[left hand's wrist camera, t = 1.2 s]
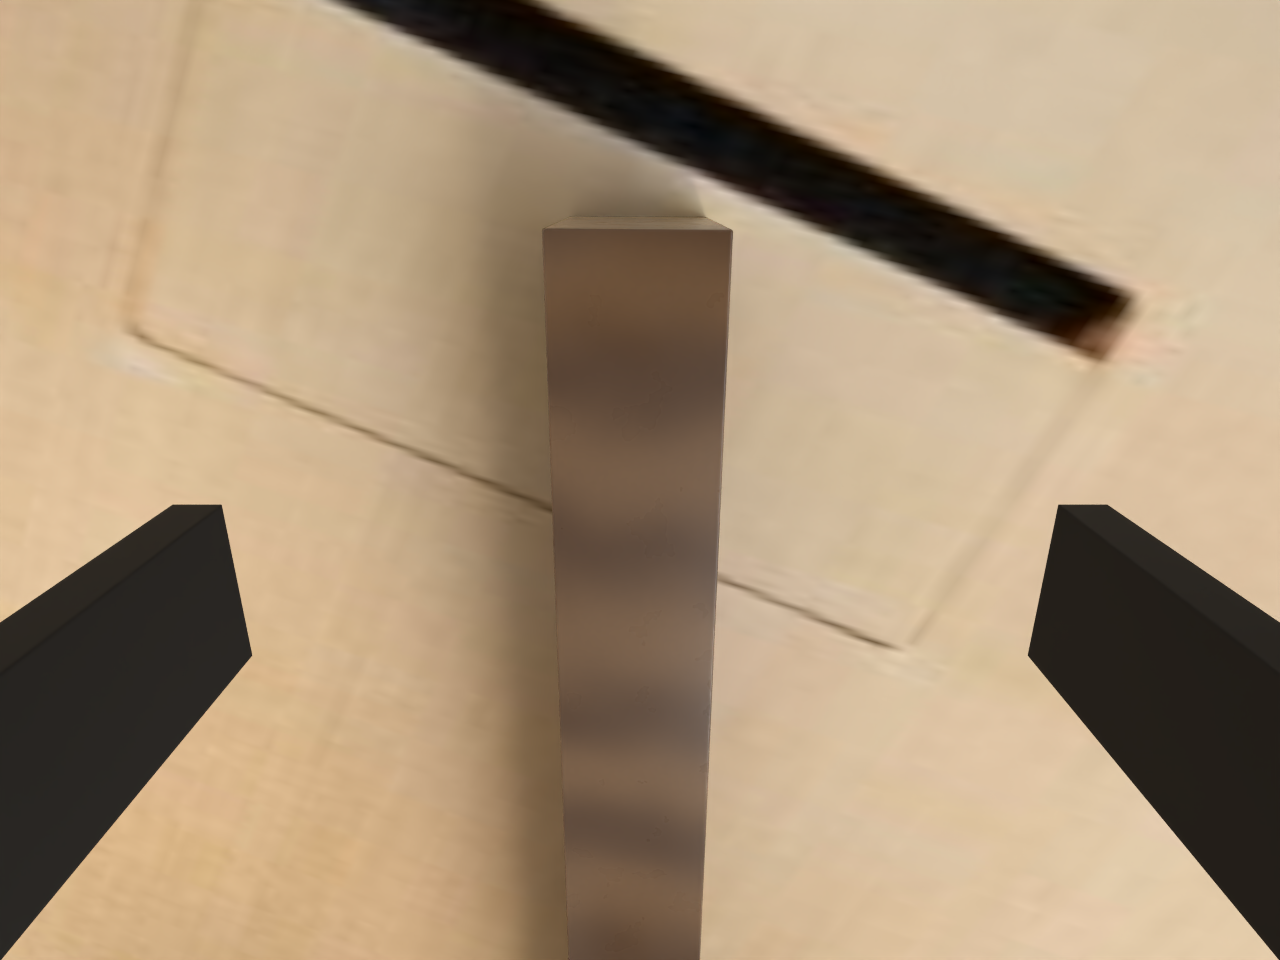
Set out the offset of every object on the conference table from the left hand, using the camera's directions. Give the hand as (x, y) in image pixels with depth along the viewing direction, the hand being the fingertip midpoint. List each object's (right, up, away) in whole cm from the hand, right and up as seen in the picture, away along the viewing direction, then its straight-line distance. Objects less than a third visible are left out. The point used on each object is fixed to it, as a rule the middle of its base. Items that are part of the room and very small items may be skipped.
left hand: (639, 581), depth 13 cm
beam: (0, -23, +27) cm, 36 cm away
